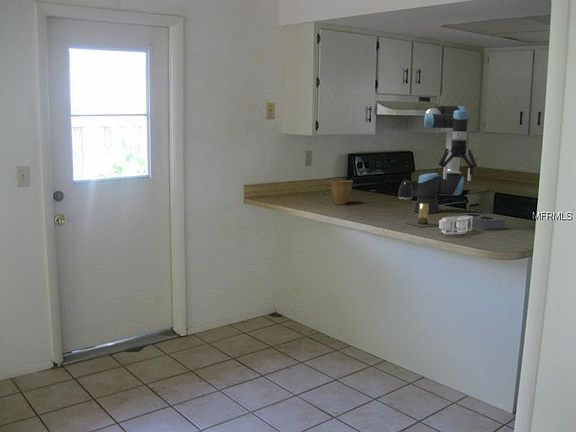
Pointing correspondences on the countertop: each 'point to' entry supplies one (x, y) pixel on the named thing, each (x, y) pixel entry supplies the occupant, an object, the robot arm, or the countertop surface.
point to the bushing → (423, 213)
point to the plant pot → (341, 190)
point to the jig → (484, 221)
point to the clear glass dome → (405, 190)
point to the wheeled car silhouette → (461, 224)
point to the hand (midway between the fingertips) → (456, 179)
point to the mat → (422, 225)
